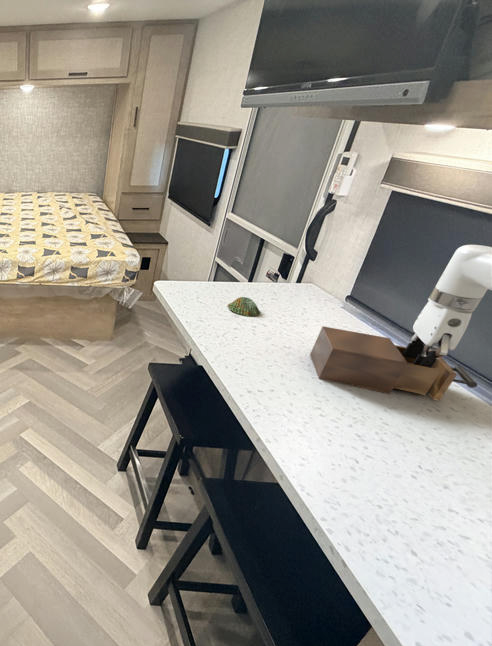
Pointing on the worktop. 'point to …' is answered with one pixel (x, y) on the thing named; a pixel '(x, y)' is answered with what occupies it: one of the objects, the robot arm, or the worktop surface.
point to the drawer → (430, 377)
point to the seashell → (244, 307)
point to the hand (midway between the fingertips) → (415, 362)
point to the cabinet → (357, 359)
